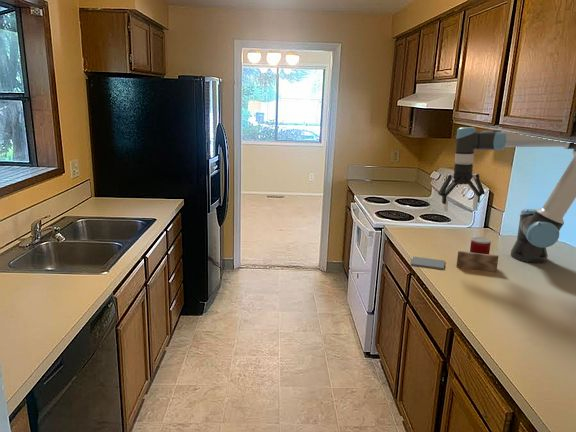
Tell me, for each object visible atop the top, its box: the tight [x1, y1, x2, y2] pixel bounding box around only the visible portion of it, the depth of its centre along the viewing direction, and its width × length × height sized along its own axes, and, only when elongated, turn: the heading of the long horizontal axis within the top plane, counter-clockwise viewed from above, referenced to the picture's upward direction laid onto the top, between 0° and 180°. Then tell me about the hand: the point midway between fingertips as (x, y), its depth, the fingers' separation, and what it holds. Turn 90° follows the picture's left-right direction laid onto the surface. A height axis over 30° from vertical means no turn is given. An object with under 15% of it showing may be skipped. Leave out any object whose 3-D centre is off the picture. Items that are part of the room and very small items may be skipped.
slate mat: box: [410, 256, 446, 270], centre depth 195 cm, size 14×10×1 cm
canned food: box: [469, 236, 492, 255], centre depth 195 cm, size 8×8×11 cm
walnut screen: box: [456, 250, 499, 273], centre depth 188 cm, size 16×2×7 cm, turn 68°
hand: (460, 210), depth 196 cm, fingers open, 13 cm apart
